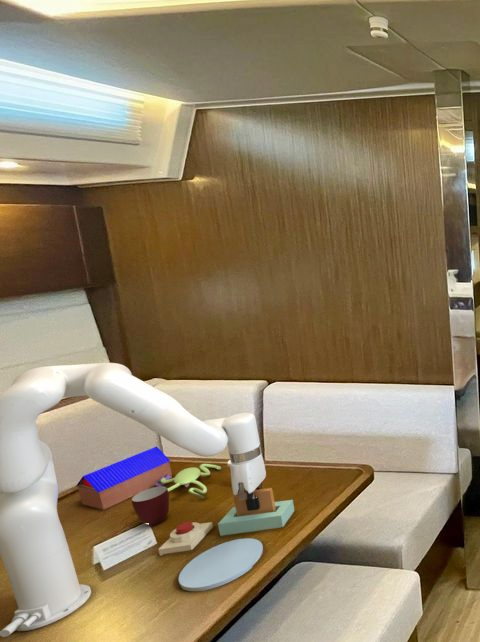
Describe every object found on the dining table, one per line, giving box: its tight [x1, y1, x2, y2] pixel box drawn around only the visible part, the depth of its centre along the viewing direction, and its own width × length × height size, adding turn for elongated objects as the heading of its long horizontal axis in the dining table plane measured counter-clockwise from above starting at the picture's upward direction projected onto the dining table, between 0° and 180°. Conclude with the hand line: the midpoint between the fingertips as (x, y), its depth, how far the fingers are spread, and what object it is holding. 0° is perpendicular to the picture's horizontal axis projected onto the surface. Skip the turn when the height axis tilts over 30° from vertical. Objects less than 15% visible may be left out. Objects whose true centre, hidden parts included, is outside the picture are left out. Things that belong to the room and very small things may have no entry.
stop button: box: [175, 521, 193, 535], centre depth 133 cm, size 4×4×2 cm
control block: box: [158, 521, 214, 557], centre depth 133 cm, size 10×8×4 cm
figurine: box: [155, 463, 222, 499], centre depth 158 cm, size 18×27×6 cm
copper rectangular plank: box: [232, 487, 276, 517], centre depth 140 cm, size 2×10×11 cm, turn 102°
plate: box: [178, 537, 264, 592], centre depth 125 cm, size 18×18×1 cm
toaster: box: [217, 499, 295, 537], centre depth 141 cm, size 8×17×4 cm, turn 102°
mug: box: [131, 485, 170, 527], centre depth 142 cm, size 11×8×10 cm
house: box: [75, 446, 173, 510], centre depth 158 cm, size 12×20×12 cm, turn 163°
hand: (255, 506), depth 140 cm, fingers closed on copper rectangular plank, 1 cm apart
